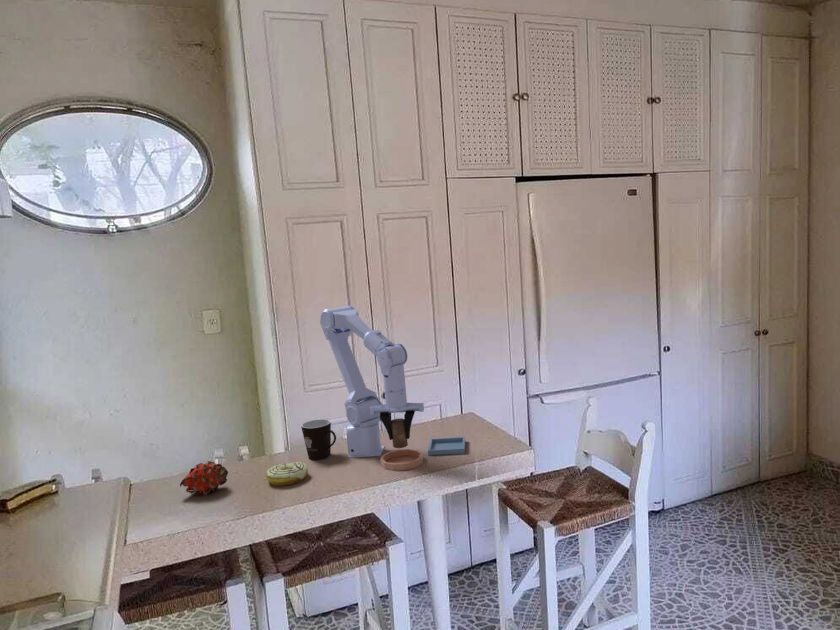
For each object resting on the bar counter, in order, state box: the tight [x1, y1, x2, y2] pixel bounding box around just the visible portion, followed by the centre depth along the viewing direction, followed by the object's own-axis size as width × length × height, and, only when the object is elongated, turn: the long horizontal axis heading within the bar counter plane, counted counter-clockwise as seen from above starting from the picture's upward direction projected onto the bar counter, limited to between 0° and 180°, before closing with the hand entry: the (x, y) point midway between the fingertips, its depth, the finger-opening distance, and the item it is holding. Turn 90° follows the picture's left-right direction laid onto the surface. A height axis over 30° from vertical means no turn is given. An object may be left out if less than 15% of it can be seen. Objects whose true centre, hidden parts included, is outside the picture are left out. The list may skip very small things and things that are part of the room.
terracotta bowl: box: [379, 448, 424, 471], centre depth 158 cm, size 11×11×2 cm
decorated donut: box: [266, 461, 309, 487], centre depth 154 cm, size 10×11×4 cm
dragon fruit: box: [179, 460, 229, 496], centre depth 150 cm, size 8×8×12 cm
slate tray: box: [427, 436, 466, 457], centre depth 165 cm, size 10×10×2 cm
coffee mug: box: [300, 418, 337, 461], centre depth 168 cm, size 12×9×10 cm
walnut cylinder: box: [391, 418, 409, 449], centre depth 157 cm, size 4×4×7 cm
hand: (399, 438), depth 157 cm, fingers closed on walnut cylinder, 4 cm apart
